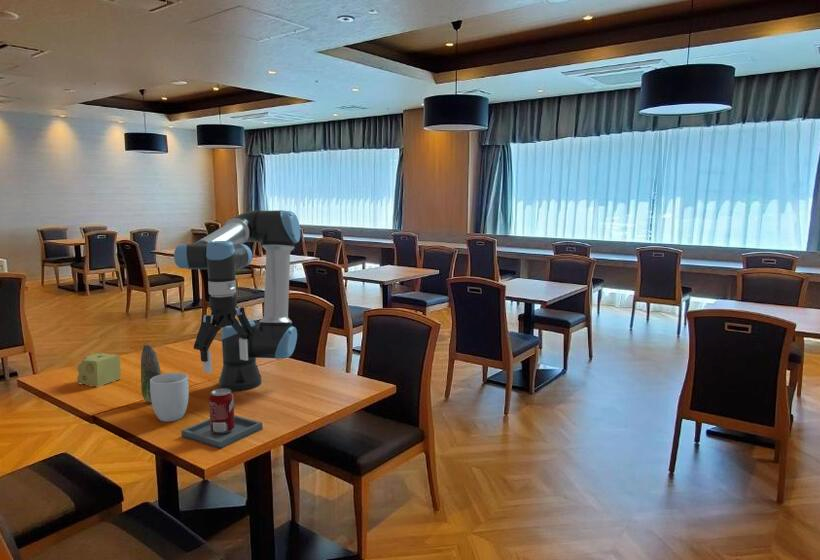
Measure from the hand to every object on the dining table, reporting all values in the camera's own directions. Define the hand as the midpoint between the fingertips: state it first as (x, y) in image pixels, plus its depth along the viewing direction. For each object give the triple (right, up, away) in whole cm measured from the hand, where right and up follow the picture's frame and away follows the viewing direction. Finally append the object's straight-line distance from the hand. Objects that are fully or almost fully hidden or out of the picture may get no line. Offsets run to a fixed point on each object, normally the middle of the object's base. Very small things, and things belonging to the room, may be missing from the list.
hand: (226, 365), depth 166 cm
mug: (-22, -18, +12) cm, 31 cm away
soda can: (-1, -19, 0) cm, 19 cm away
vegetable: (-33, -16, +25) cm, 45 cm away
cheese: (-62, -13, +45) cm, 78 cm away
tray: (-1, -20, 0) cm, 20 cm away
